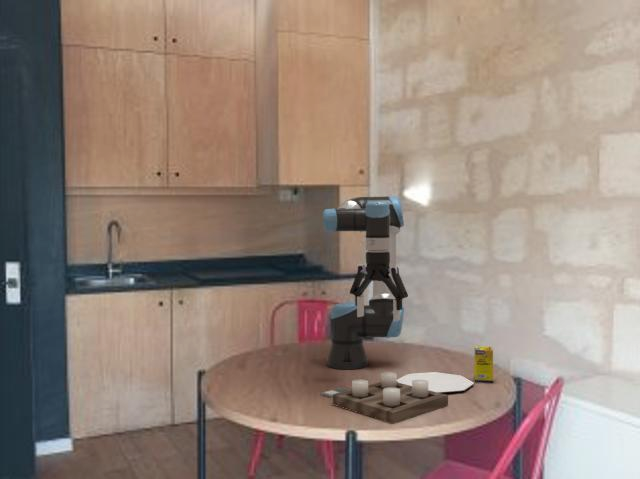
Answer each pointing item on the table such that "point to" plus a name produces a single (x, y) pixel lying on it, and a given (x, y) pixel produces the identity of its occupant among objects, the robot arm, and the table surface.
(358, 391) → the button
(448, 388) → the plate
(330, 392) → the card
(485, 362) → the supplement box
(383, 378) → the button
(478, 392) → the table surface
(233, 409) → the table surface
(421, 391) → the button
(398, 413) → the board
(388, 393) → the button
